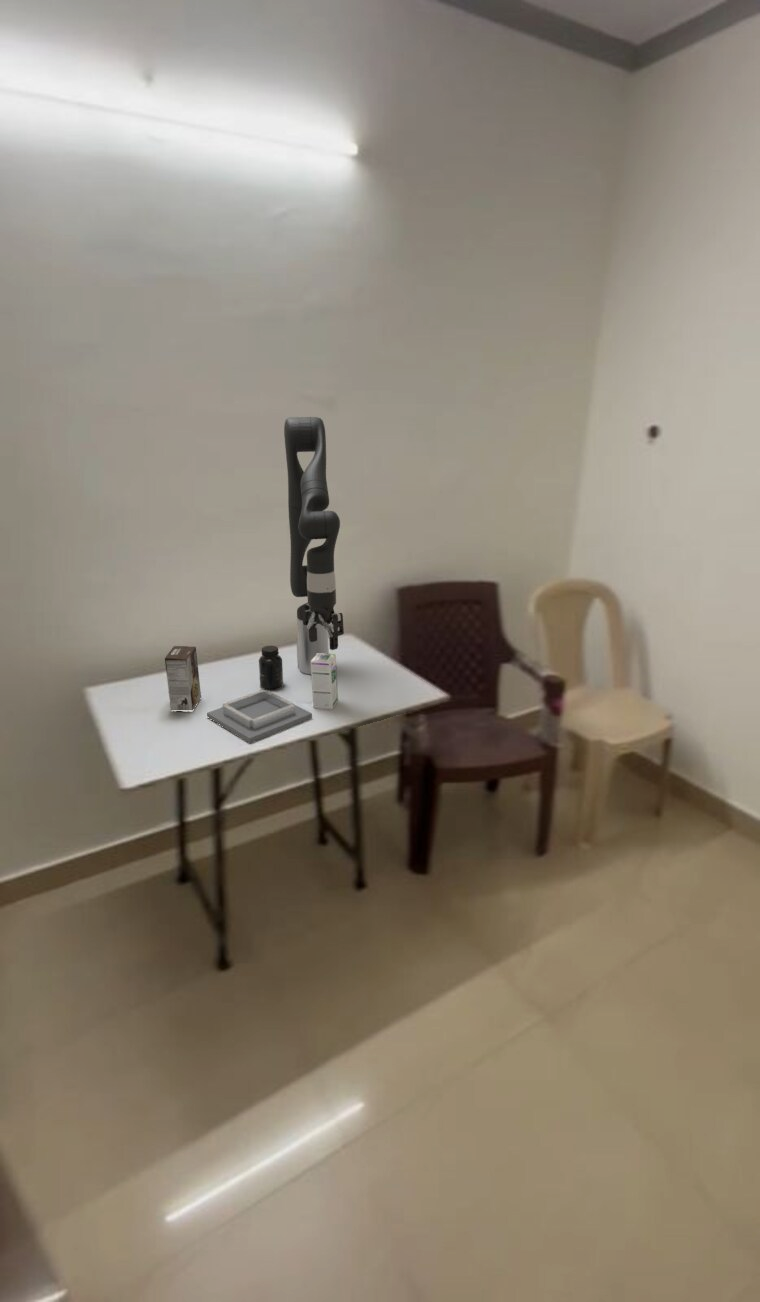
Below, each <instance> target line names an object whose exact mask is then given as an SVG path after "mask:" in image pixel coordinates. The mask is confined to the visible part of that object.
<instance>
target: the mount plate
mask: <svg viewBox="0 0 760 1302" xmlns="http://www.w3.org/2000/svg"><path fill="white" fill-rule="evenodd" d="M294 705H295V714H294V715H292V716H289V717H287V718H284V719H281V720H279V721H276V722H274V723H271V724H269V725H266V726H264V727H261V728H259V729H256V730H253V729H248V728H247V727H245V726H243V725H242V724H240V723H238V722H236V721H235V720H233V719H231V718H230V717H228V716H226V715H224V712H223V706H222V707H220V708H216V709H214V710H213V709H212V710H211V711H208V712H207V713H206V716H207V717H209V718H210V719H212V720H214V721H215V722H217V723H218V724H217V723H216V724H217V725H219V724H220V725H221V727H222V726H223V727H224V729H225V728H226V729H225V730H227V731H228V730H229V731H228V732H230V731H231V732H230V733H232V734H233V733H234V735H235V734H236V735H235V736H237V735H238V736H240V737H241V738H240V737H239V738H240V739H242V738H243V739H244V740H243V739H242V740H243V741H245V742H247V743H248V742H249V744H252V742H253V743H254V741H255V742H258V741H260V740H262V738H263V739H264V738H268V737H269V736H273V735H275V734H277V733H279V732H282V731H285V730H286V729H289V728H292V727H294V726H297V725H300V724H301V723H304V722H307V721H309V720H311V719H313V714H312V712H310V711H309V710H306V709H304V708H302V707H300V706H298V705H296V704H294ZM278 709H281V708H280V707H278V706H276V705H274V704H272V703H270V702H268V701H266V700H262V701H259V702H257V703H254V704H251V705H248V706H246V707H243V708H240V709H237V710H238V711H240V712H241V713H243V714H245V715H247V716H248V717H250V718H252V719H255V718H257V717H260V716H262V715H265V714H268V713H270V712H273V711H276V710H278ZM209 718H208V719H209ZM210 719H209V720H210ZM212 720H211V721H212ZM214 721H213V722H214ZM215 722H214V723H215ZM220 725H219V726H220ZM223 727H222V728H223ZM238 736H237V737H238Z"/></svg>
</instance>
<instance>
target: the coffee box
mask: <svg viewBox="0 0 760 1302" xmlns="http://www.w3.org/2000/svg"><path fill="white" fill-rule="evenodd" d="M164 662H165V663H164V664H165V671H166V679H167V680H166V681H167V687H168V696H169V705H170V711H171V710H193V709H194V708H195V706H196V704H197V703H198V701H199V700H200V701H201V699H202V692H201V684H200V682H201V681H200V673H199V665H198V656H197V647H196V646H189V645H188V646H187V645H186V646H185V645H173V647H172V648H171V649H170V650H169V652H168V653H167V655H166V656H165V657H164ZM200 698H201V699H200ZM200 701H199V702H200ZM198 704H199V703H198ZM198 704H197V705H198ZM196 707H197V706H196ZM195 709H196V708H195Z"/></svg>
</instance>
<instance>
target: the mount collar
mask: <svg viewBox="0 0 760 1302" xmlns="http://www.w3.org/2000/svg"><path fill="white" fill-rule="evenodd" d="M262 700H266V701H268V702H270V703H272V704H274V705H276V706H278V707H280V708H281V709H278V710H276V711H273V712H270V713H268V714H265V715H262V716H260V717H257V718H255V719H252V718H250V717H248V716H247V715H245V714H243V713H241V712H240V711H238V710H237V709H240V708H243V707H246V706H248V705H251V704H254V703H257V702H259V701H262ZM295 705H296V704H295V703H294V702H293V701H290V700H289V699H286V698H284V697H282V696H280V695H278V694H276V693H274V692H272V691H271V690H266V689H261V690H258V691H256V692H255V691H254V692H253V693H250V694H246V695H244V696H240V697H239V698H236V699H235V698H234V699H233V700H230V701H227V702H224V703H222V707H223V712H224V715H226V716H228V717H230V718H231V719H233V720H235V721H236V722H238V723H240V724H242V725H243V726H245V727H247V728H248V729H253V730H256V729H259V728H261V727H264V726H266V725H269V724H271V723H274V722H276V721H279V720H281V719H284V718H287V717H289V716H292V715H294V714H295Z"/></svg>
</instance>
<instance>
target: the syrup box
mask: <svg viewBox="0 0 760 1302" xmlns="http://www.w3.org/2000/svg"><path fill="white" fill-rule="evenodd" d="M310 675H311V677H310V678H311V688H312V689H311V691H312V707H313V708H314V709H320V710H330V709H331V710H334V708H335V706H337V705H336V704H337V703H338V701H339V696H338V672H337V656H336V654H335V653H317V654H316V655H315V656H314V657H313V659H312V660H311V674H310Z"/></svg>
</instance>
